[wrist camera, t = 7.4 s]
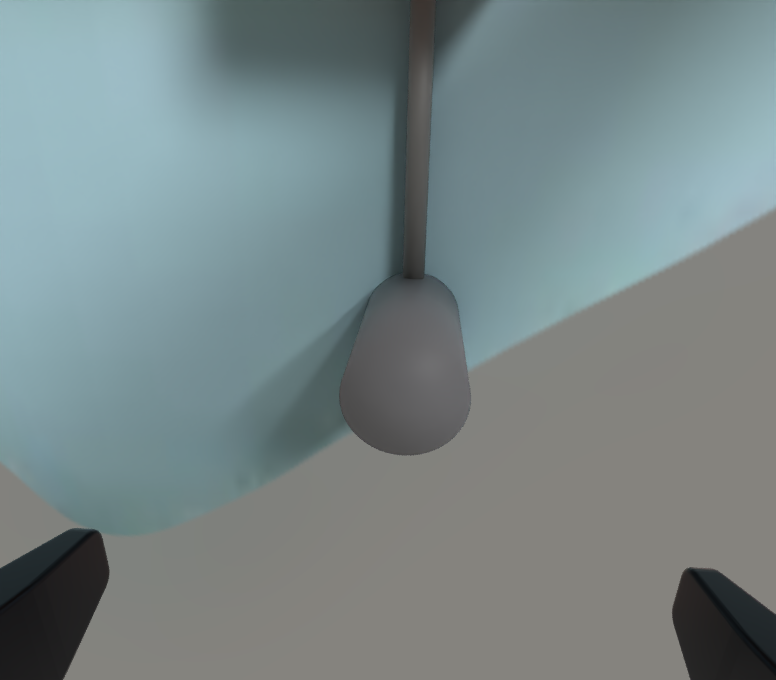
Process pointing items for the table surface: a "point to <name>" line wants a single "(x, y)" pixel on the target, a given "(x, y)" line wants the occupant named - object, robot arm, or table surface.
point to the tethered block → (410, 307)
